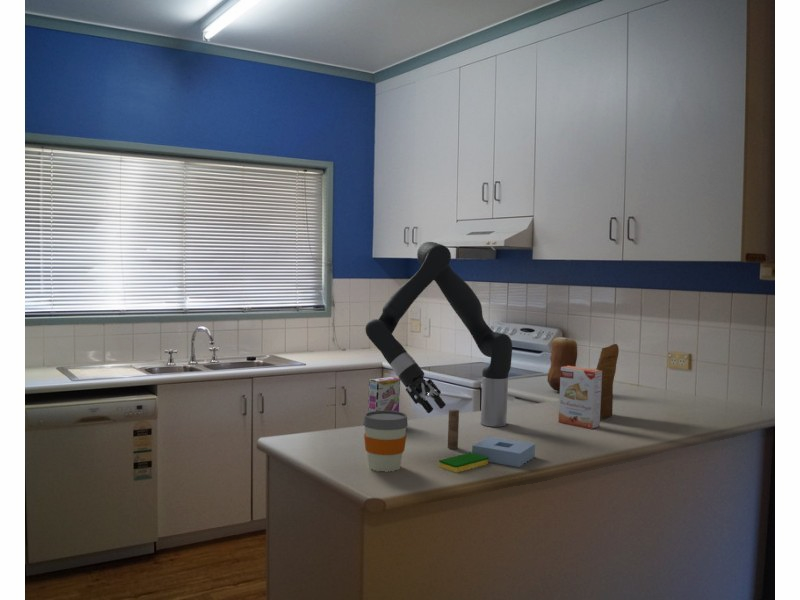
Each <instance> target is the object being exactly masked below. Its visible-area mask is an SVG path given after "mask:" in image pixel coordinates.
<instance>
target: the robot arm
mask: <svg viewBox="0 0 800 600" xmlns="http://www.w3.org/2000/svg"><path fill="white" fill-rule="evenodd" d="M416 256H417V260H418V263H419V265H420V268H419V269H418V271H416V273H414V274H413V276H411V277H410V278H409V280H407V281H406V282H405V283H403V284H402V285H400V286H399V288H397V289H396V290H395V291H394V292H393V294H392V295H391V296H390V297H389V299H388V300H387V302H386V303H385V304H384V305H383V307H382V313H381V314H380V316H379V318H374V319H371V320H369V321H368V322H367V323H366V326H365V334H366V336H367V338H368V339H369V340H370V341H371V342H372V344H373V345H374V346H375V347H376V349H377V350H378V351H380V353H381V354H382V356H383V358H384V359H385V360H386V361H387V364H389V366H390V367H391V369H392V370H393V372H394V374H395V375H396V376H397V378H399V379H400V382H401V383H402V384H403V386H404V387H405V391H406V393H407V394H408V395H409V397H410V398H411V400H412V401H413V402H414V404H416V405H418V404H419V405H420V406H422V408H423V409H424V410H425V412H426V413H427V414H430V413H432V412H433V411H434V408H433V406H432V404H431V403H430V402H429V401H428V399H427V398H431V399H432V400H433V401H434V402H435V404H436V405H437V406H438V408H439V409H444V408H445V407H446V402H445V401H444V400H443V399H442V397H441V396H440V394H441V393H442V392H441V390H440V389H439V387H437V385H436V384H435V383H434V381H433V380H432V379H431V378H429V379H428V380H425V378H424V376H425V372H424V370H423V369H422V368H421V367H420V366H419V364H418V363H417V362H416V360H415V359H414V358H413V357H412V356H411V355H410V354H409V353H408V351H407V350H406V348H405V347H404V346H403V344H402V343H401V342H399V341H398V340H397V339H396V338H395V336H394V335H393V333H394V331H395V329H396V328H397V326H398V324H399V321H400V320H401V319H402V318H403V316H404V315H405V314H406V313H407V311H408V310H409V309H410V308H411V306H412V304H413V303H414V302H415V301H416V299H418V297H419V296H420V295H421V293H423V291H424V290H426V288H427V287H428V286H430V284H432V282H433V281H435V283H436V285H437V286H438V288H439V290H440V291H441V293H442V294H443V297H445V299H446V300H447V302H448V303H449V305H450V306H451V308H452V309H453V310H454V312H455V314H456V315H457V317H458V318H459V319H460V320H461V322H462V323H463V325H464V326H465V327H466V329H467V330H468V331H469V333H470V335H471V337H472V338H473V340H474V342H475V345H476V346H477V348H478V350H479V352H480V353H481V354H482V355H484V356H485V357H488V358H490V362H489V363H490V364H489V365H488V366H486V367H484V368H482V374H481V375H482V376H481V378H482V379H481V380H482V381H481V403H480V404H481V407H480V424H481V425H483V426H486V427H494V428H495V427H498V428H499V427H505V426H507V418H508V417H507V415H508V414H507V413H508V388H509V373H510V370H511V366H512V357H513V342H512V339H511V337H510V336H509V335H508V334H506V333H501V332H496V331H493V330H492V329H491V328H490V326H489V325H488V324H487V323H486V321H485V319H484V317H483V307H482V303H481V300H480V299H479V297H478V296H477V294H476V293H475V292H474V290H473V289H472V288H471V286H470V285H469V284H468V283H466V281H465V280H464V279H463V278H461V277H460V275H458V274H457V273H456V272H455V271H454V270H453V269H452V267H451V266H450V265H449V264H451V260H452V254H451V251H450V249H449V248H448V247H447V246H445V245H443V244H441V243H437V242H433V241H425V242H424V243H422V244H420V245H419V247H418V249H417V254H416ZM426 397H427V398H426Z"/></svg>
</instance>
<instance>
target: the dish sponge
mask: <svg viewBox="0 0 800 600" xmlns="http://www.w3.org/2000/svg"><path fill="white" fill-rule="evenodd" d="M486 464H487V465H489V462H488V457H485V456H481V455H478V454H475V453H472V451H471V452H467V453H463V454H459V455H454V456H450V457H446V458H442V459H439V460H438V468H440V467H441V469H444V470H447V471H449V472H453V473H460V471H461V472H465V471H468V470H471V468H472V469H475V467H476V468H479V467H483V466H487V465H486ZM482 465H483V466H482ZM478 466H479V467H478ZM467 469H468V470H467ZM464 470H465V471H464Z"/></svg>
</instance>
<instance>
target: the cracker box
mask: <svg viewBox="0 0 800 600" xmlns="http://www.w3.org/2000/svg"><path fill="white" fill-rule="evenodd" d="M601 388H602V371H601V370H596V369H595V368H594V369H592V368H587V367H581V366H576V367H575V366H564V367H561V376H560V392H559V404H558V420H557V421H558V423H562V424H567V425H571V426H575V427H581V428H585V429H589V430H590V429H591V430H593V429H597V428H599V427H600V426H601V420H600V409H601Z"/></svg>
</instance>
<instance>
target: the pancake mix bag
mask: <svg viewBox="0 0 800 600" xmlns="http://www.w3.org/2000/svg"><path fill="white" fill-rule="evenodd" d="M619 349H620V348H619V345H618V344H617V343H614V344H611V345H608V346H606V347H603V348H601V351H600V355H599V357H598V362H597V365H596V369H595V370H601V371H602V388H601V409H600V421H601V420H605V419H607V418H610V417H613V403H614V401H613V400H614V398H613V397H614V393H613V392H614V381H615V377H616V376H615V375H616V371H617V363H618V358H619V351H620V350H619Z"/></svg>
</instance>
